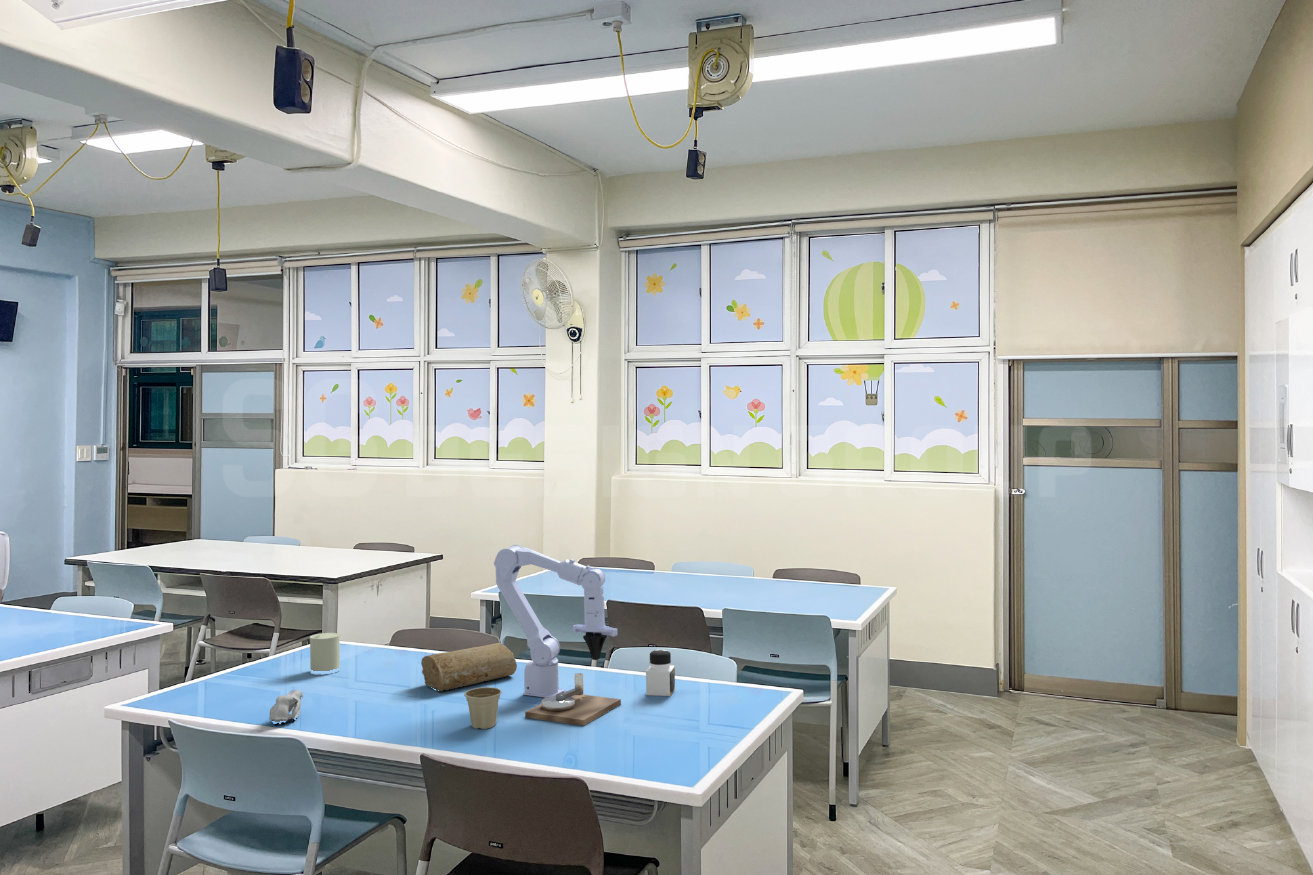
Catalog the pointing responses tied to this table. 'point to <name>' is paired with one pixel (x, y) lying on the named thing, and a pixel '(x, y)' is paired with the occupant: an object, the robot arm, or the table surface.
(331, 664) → the can
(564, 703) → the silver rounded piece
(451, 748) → the table surface
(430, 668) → the core sample
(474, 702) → the flower pot
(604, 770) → the table surface
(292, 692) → the skull
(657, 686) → the medicine bottle
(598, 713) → the stand board
